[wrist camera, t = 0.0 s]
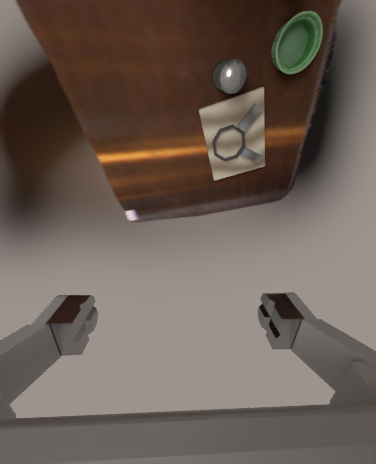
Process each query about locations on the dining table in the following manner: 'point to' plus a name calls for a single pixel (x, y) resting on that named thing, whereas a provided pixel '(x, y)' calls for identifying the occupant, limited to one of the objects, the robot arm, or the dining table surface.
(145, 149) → the dining table surface
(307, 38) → the ramekin
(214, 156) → the board
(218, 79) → the teal-capped glass jar
